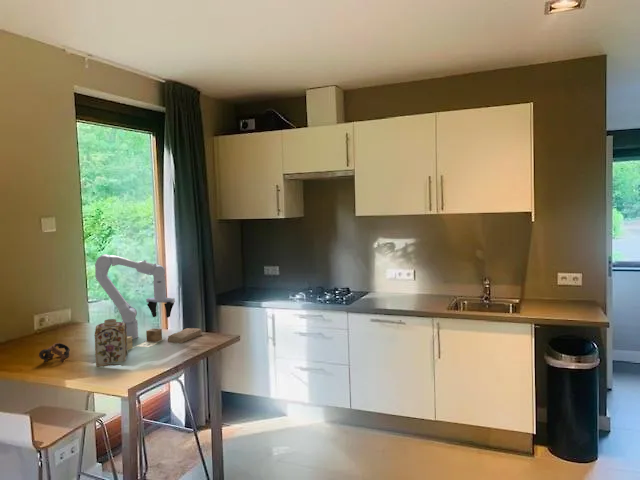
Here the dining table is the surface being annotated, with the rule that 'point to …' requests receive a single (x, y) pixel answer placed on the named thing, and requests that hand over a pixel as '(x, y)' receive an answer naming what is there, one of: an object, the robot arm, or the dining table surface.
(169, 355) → the dining table surface
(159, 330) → the walnut block
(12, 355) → the dining table surface
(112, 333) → the decorative jar
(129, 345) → the oak block
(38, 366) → the dining table surface
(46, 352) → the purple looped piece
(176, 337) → the brick
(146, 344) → the board
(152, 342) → the pad
